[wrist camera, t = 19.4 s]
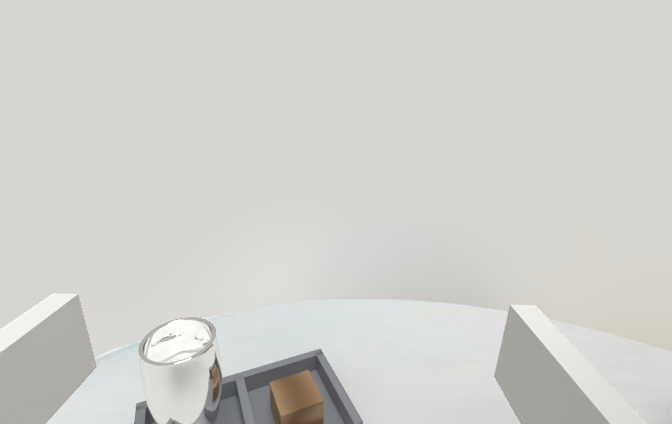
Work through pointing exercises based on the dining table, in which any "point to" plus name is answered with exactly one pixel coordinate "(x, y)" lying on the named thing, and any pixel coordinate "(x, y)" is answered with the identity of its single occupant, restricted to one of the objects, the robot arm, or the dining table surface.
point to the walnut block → (296, 400)
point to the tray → (254, 393)
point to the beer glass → (182, 372)
